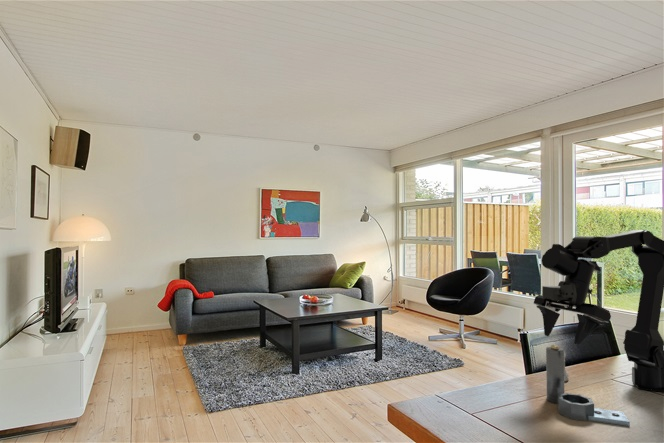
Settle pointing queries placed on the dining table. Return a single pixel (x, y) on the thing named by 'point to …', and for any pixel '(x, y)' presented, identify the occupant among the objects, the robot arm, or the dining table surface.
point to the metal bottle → (554, 372)
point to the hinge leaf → (588, 410)
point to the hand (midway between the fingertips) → (560, 339)
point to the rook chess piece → (565, 371)
